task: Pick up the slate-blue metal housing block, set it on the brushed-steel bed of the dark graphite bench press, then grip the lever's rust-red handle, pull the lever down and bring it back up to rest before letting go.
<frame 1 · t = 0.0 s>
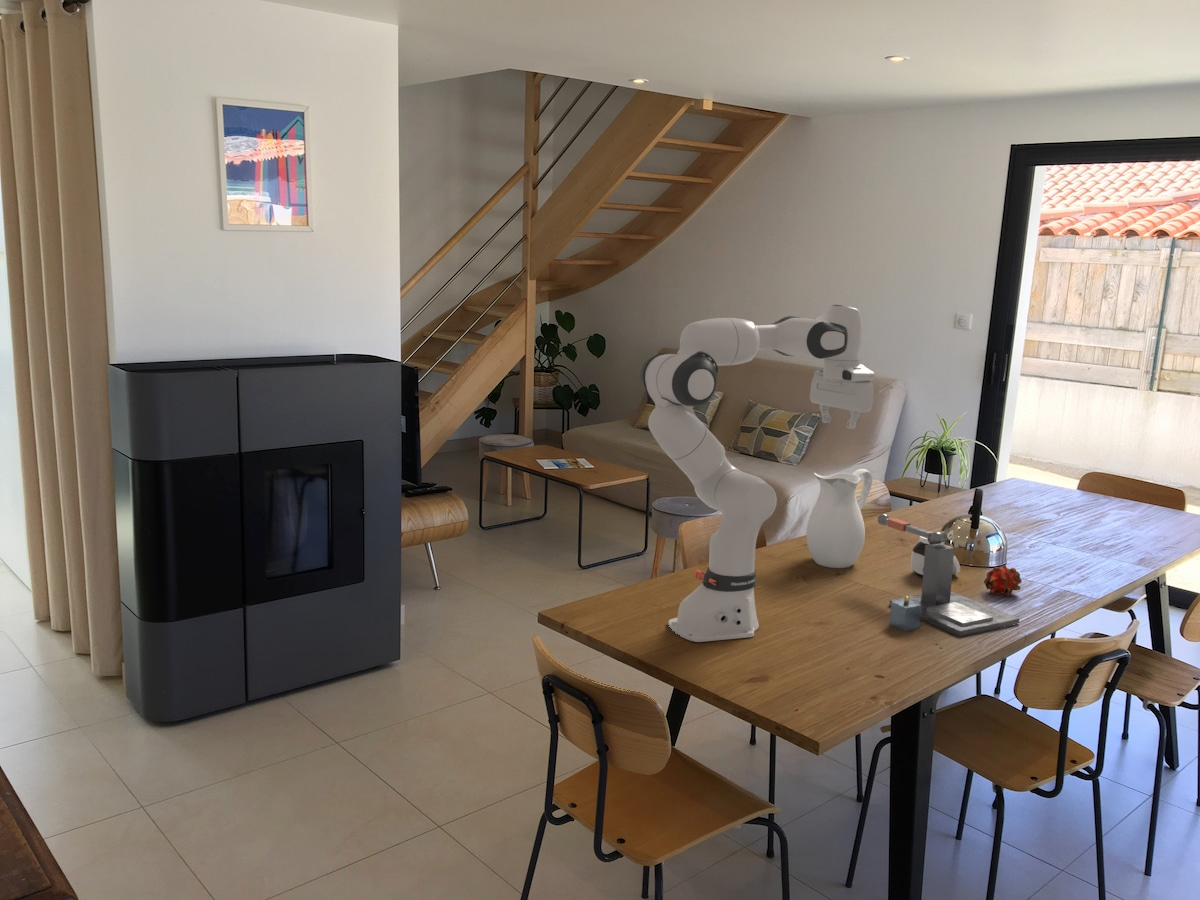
hand: (838, 425, 239), 48 cm above the table, fingers open, 8 cm apart
press: (940, 620, 239), on the table
dragon fruit: (1000, 595, 259), on the table
lever: (909, 528, 255), point 19 cm above the table, hinge at 0.0°
housing: (904, 626, 235), on the table
spread jar: (935, 575, 275), on the table
pitcher: (841, 561, 288), on the table
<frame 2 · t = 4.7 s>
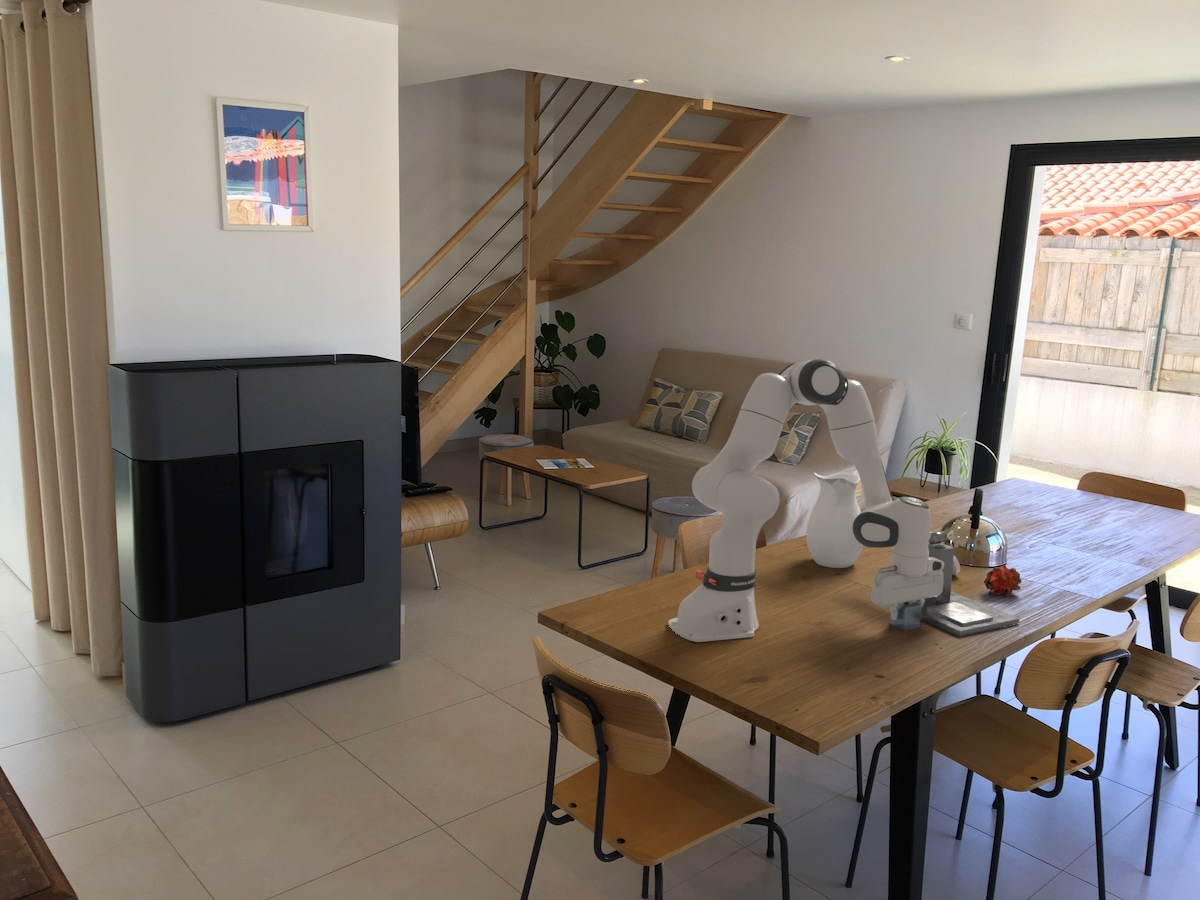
hand: (905, 617, 235), 2 cm above the table, fingers closed on housing, 5 cm apart
housing: (904, 626, 235), on the table, touching gripper
everything else where it was.
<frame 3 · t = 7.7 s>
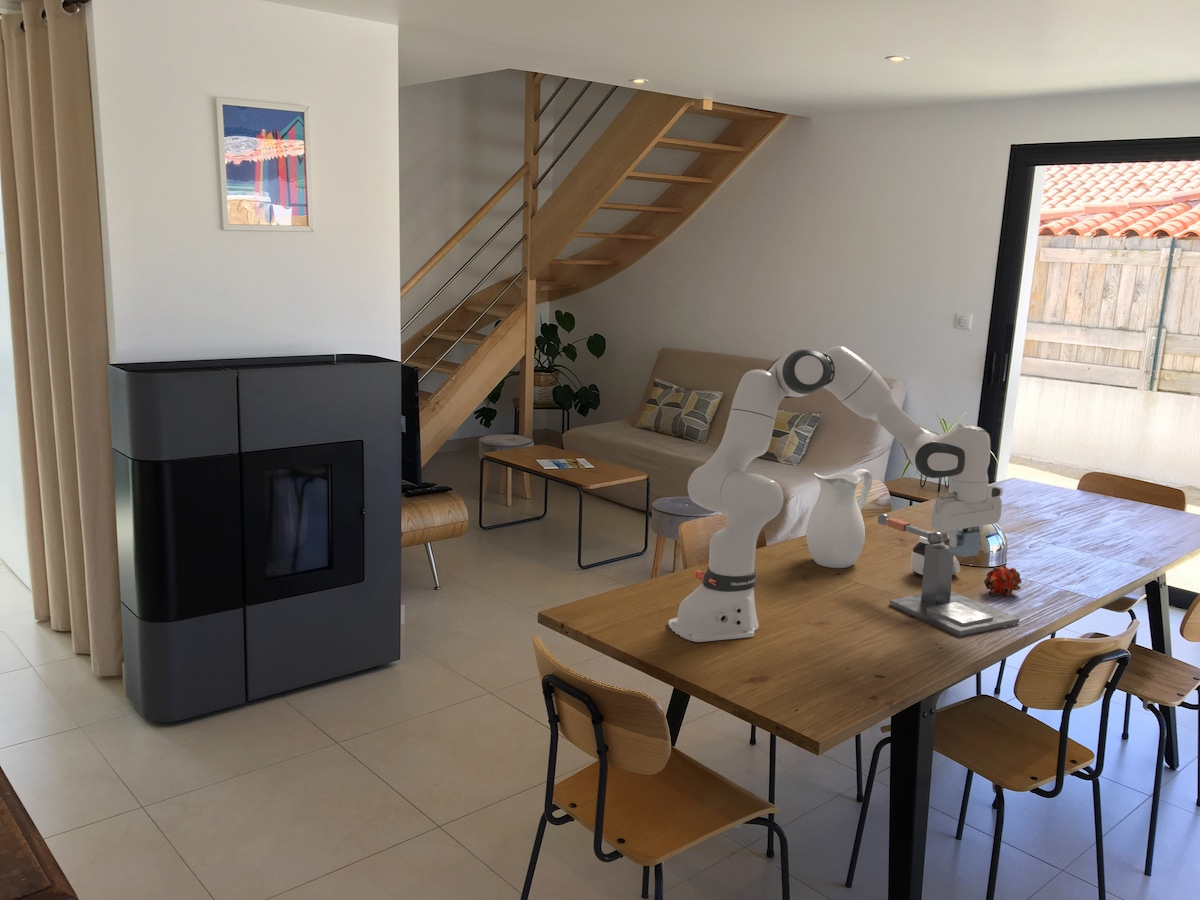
hand: (964, 544, 236), 20 cm above the table, fingers closed on housing, 5 cm apart
housing: (963, 553, 236), point 18 cm above the table, touching gripper
everything else where it was.
when the fingers open (6 cm above the table, at t = 10.7 s): housing drops 2 cm, resting on press.
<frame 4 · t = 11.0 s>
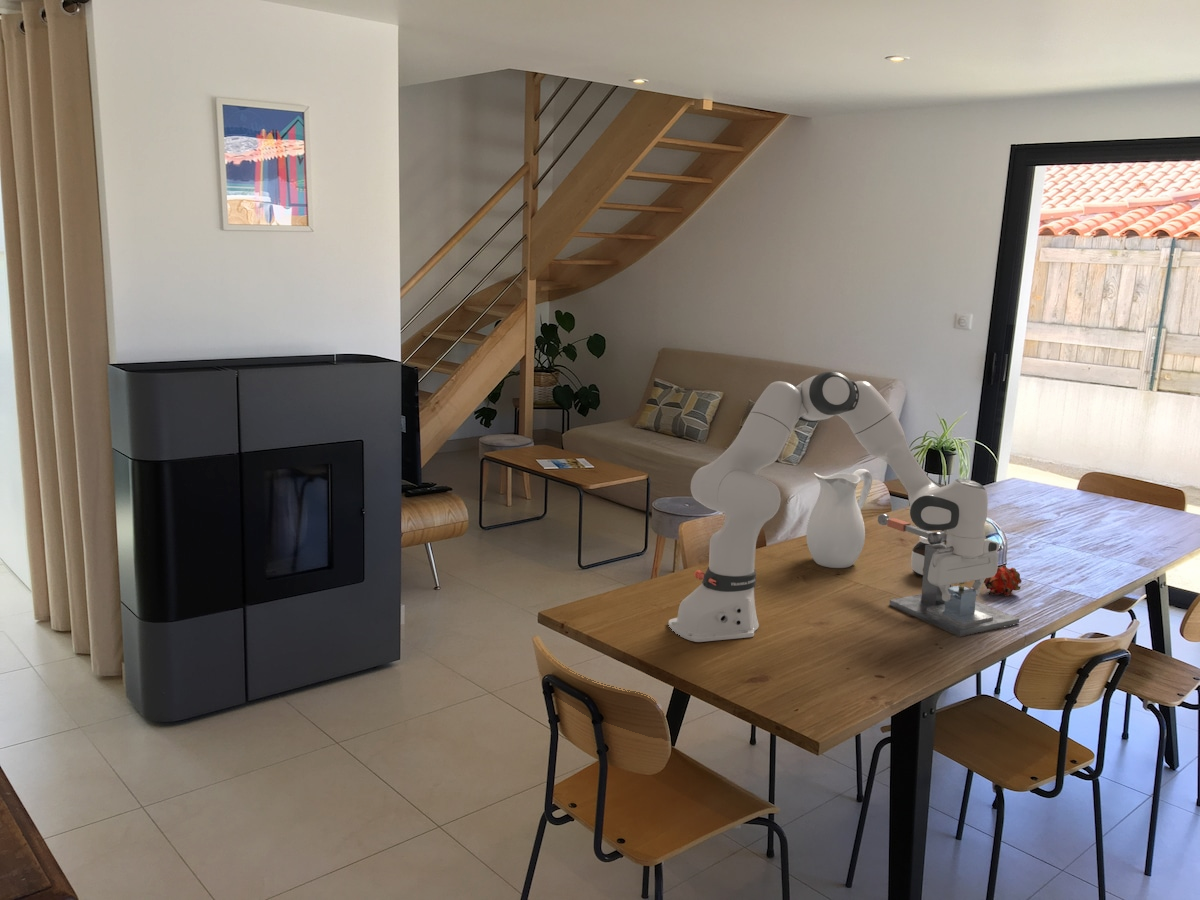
hand: (960, 597, 238), 6 cm above the table, fingers open, 8 cm apart
housing: (959, 612, 239), point 2 cm above the table, touching press
everything else where it was.
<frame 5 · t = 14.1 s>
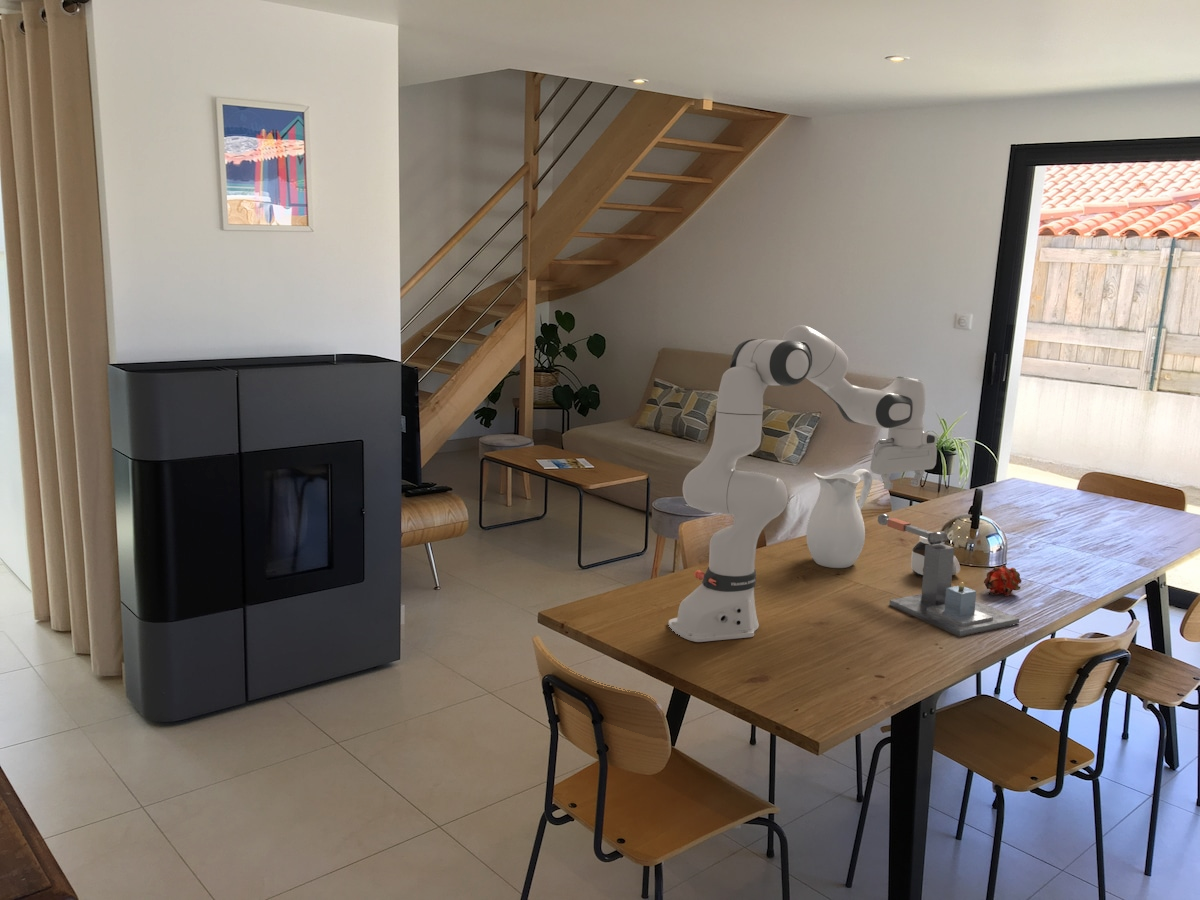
hand: (901, 487, 256), 29 cm above the table, fingers open, 8 cm apart
nothing on the table moved.
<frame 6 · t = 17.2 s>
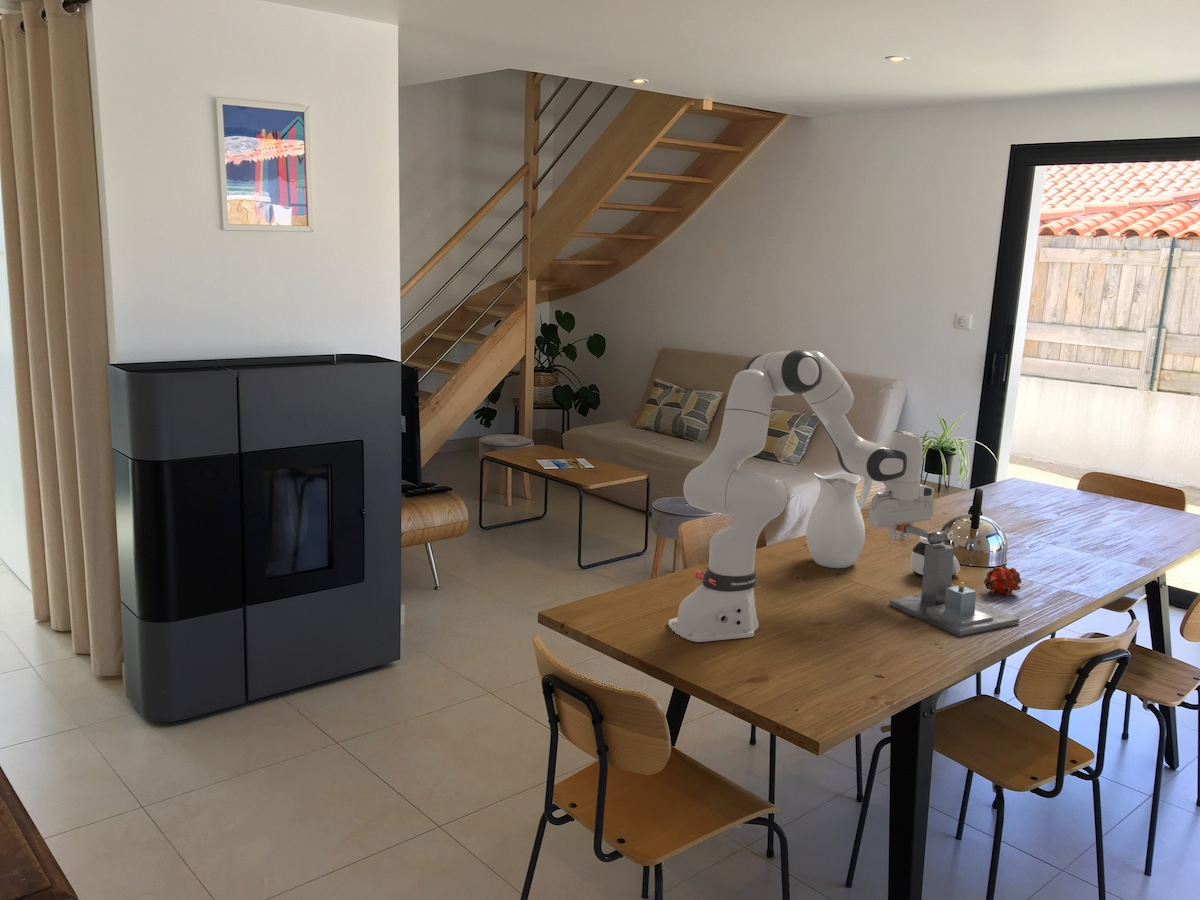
hand: (899, 539, 259), 14 cm above the table, fingers closed
lever: (909, 529, 255), point 18 cm above the table, hinge at 1.0°
everything else where it was.
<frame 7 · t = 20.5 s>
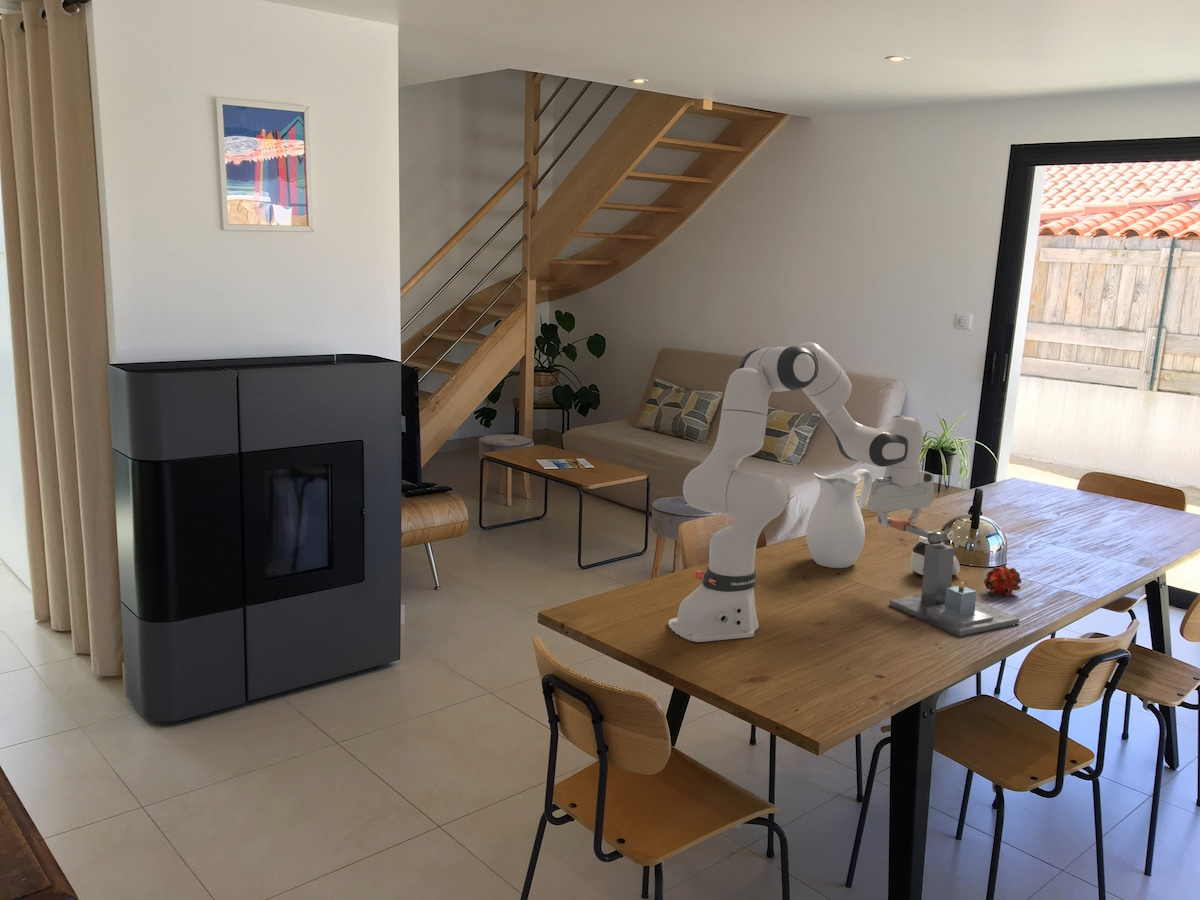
hand: (898, 525, 258), 18 cm above the table, fingers open, 8 cm apart
lever: (909, 528, 255), point 19 cm above the table, hinge at -0.5°
everything else where it was.
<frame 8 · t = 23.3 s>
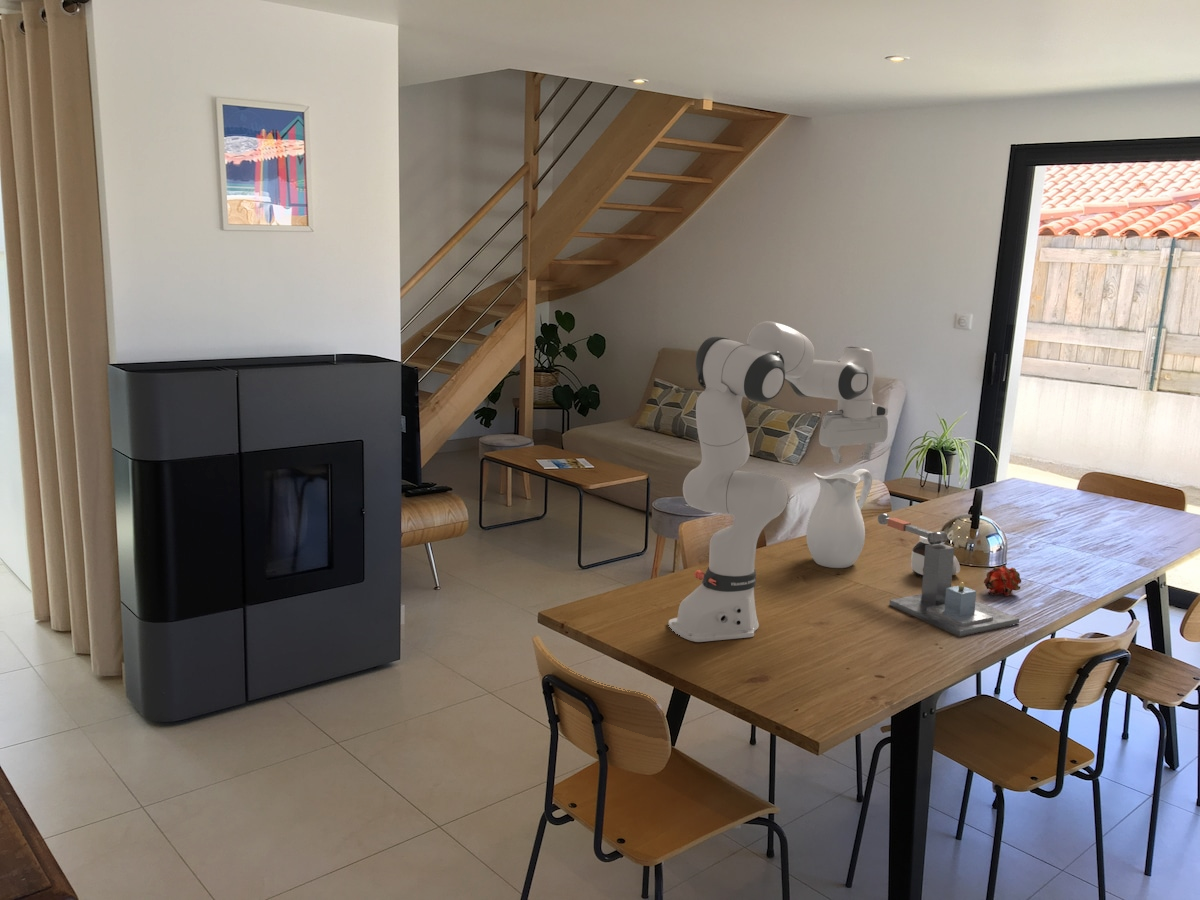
hand: (851, 461, 250), 37 cm above the table, fingers open, 8 cm apart
nothing on the table moved.
at the end: housing inside the target area (0.1 cm from its centre), point 2.3 cm above the table; housing tilted 0°; lever at +0° (first picture: +0°) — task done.
